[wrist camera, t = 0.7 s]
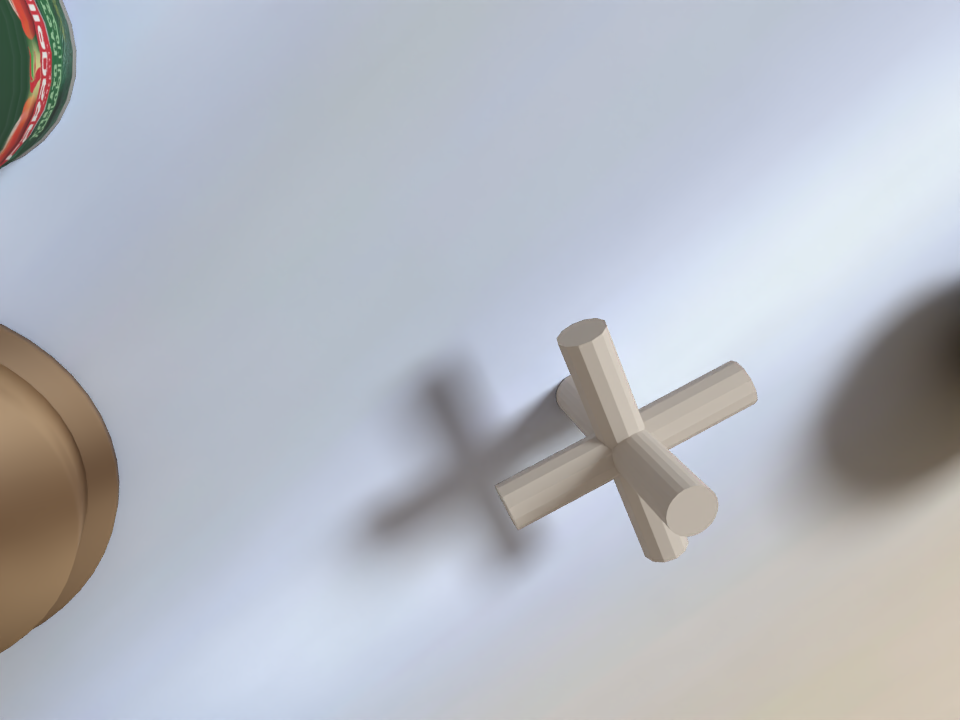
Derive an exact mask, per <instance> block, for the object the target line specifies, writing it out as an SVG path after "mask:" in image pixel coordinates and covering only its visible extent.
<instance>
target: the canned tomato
mask: <svg viewBox="0 0 960 720" xmlns="http://www.w3.org/2000/svg"><path fill="white" fill-rule="evenodd" d="M75 77H76V46H75V41H74V35H73V29H72V24H71V22H70V19H69V16H68V14H67V11H66V8H65V6H64V3H63V0H0V169H1V168H2V167H4V166H6V165H7V164H9V163H10V162H12V161H14V160H16V159H18V158H20V157H23V156H25V155H26V154H27V153H29V152H30V151H31V150H33V149H34V148H35V147H36V146H38V145H39V144H40V143H42V142H43V141H44V140H45V139H46V138H47V136H48V135H49V134H50V133H51V132H52V130H53V129H54V128H55V127H56V125H57V124H58V123H59V122H60V120H61V118H62V115H63V113H64V111H65V109H66V107H67V105H68V103H69V101H70V98H71V94H72V90H73V86H74V82H75Z"/></svg>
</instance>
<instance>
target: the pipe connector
mask: <svg viewBox="0 0 960 720" xmlns="http://www.w3.org/2000/svg"><path fill="white" fill-rule="evenodd" d="M557 342H558V345H559V347H560V350H561V352H562V355H563V357H564V360H565V362H566V365H567V367H568V369H569V372H570V374H571V375H570V376H568V377H567V378H565V379H564V380H563V381H562V382H561V383H560V385H559V387H558V389H557V393H556V399H557V403H558V405H559V406H560V408H561V409H562V410H563V411H564V412H565V413H566V415H567V416H568V417H569V418H570V419H571V420H572V421H573V422H574V423H575V425H576V426H577V427H578V428H579V429H580V430H581V431H582V432H583V433H584V435H585V436H586V437H585V438H584V439H582V440H580V441H578V442H576V443H574V444H572V445H570V446H568V447H567V448H565V449H563V450H561V451H559V452H557V453H555V454H553V455H551V456H550V457H548V458H546V459H544V460H542V461H540V462H538V463H536V464H534V465H533V466H531V467H529V468H527V469H525V470H523V471H521V472H519V473H517V474H515V475H514V476H512V477H510V478H508V479H506V480H504V481H502V482H500V483H498V484H497V485H495V488H496V490H497V492H498V494H499V496H500V498H501V500H502V502H503V504H504V506H505V508H506V510H507V512H508V514H509V516H510V518H511V519H512V521H513V523H514V525H515V527H516V528H517V530H520V529H522V528H523V527H525V526H527V525H529V524H531V523H533V522H535V521H536V520H538V519H540V518H542V517H544V516H546V515H548V514H550V513H551V512H553V511H555V510H557V509H559V508H561V507H563V506H564V505H566V504H568V503H570V502H572V501H574V500H576V499H578V498H579V497H581V496H583V495H585V494H587V493H589V492H591V491H592V490H594V489H596V488H598V487H600V486H602V485H604V484H606V483H607V482H609V481H611V480H613V479H614V481H615V484H616V486H617V489H618V491H619V494H620V496H621V498H622V501H623V503H624V506H625V508H626V511H627V513H628V516H629V518H630V520H631V523H632V525H633V528H634V530H635V533H636V535H637V537H638V540H639V542H640V545H641V547H642V550H643V552H644V555H645V557H647V558H648V559H650V560H651V561H653V562H667V561H670V560H673V559H676V558H678V557H679V556H680V555H681V554H682V553H683V552H685V550H686V548H687V545H688V543H689V542H688V539H687V537H688V536H694V535H696V534H699V533H701V532H702V531H704V530H705V529H706V528H707V527H708V526H709V525H710V524H711V523H712V522H713V520H714V519H715V517H716V514H717V511H718V500H717V497H716V495H715V493H714V492H713V491H712V490H711V489H710V488H709V487H708V486H707V485H705V484H704V483H703V482H702V481H701V480H700V479H699V478H698V477H697V476H696V475H695V474H694V473H693V472H692V471H690V470H689V469H688V468H687V467H686V466H685V465H684V464H683V463H682V462H681V461H680V460H679V459H678V458H677V457H676V456H674V455H673V454H672V453H671V452H670V451H669V449H671V448H673V447H675V446H677V445H678V444H680V443H682V442H684V441H686V440H688V439H690V438H691V437H693V436H695V435H697V434H699V433H701V432H703V431H705V430H706V429H708V428H710V427H712V426H714V425H716V424H718V423H719V422H721V421H723V420H725V419H727V418H729V417H731V416H733V415H734V414H736V413H738V412H740V411H742V410H744V409H746V408H747V407H749V406H751V405H753V404H755V403H756V401H757V393H756V389H755V387H754V385H753V382H752V380H751V378H750V377H749V376H748V374H747V373H746V371H745V370H744V368H742V367H741V366H740V365H739V364H738V363H737V362H735V361H729V362H727V363H725V364H723V365H722V366H720V367H718V368H716V369H714V370H712V371H710V372H708V373H706V374H705V375H703V376H701V377H699V378H697V379H695V380H693V381H691V382H689V383H688V384H686V385H684V386H682V387H680V388H678V389H676V390H674V391H672V392H671V393H669V394H667V395H665V396H663V397H661V398H659V399H657V400H655V401H654V402H652V403H650V404H648V405H646V406H644V407H642V408H640V409H638V407H637V405H636V402H635V399H634V397H633V394H632V391H631V389H630V386H629V383H628V381H627V378H626V376H625V373H624V370H623V368H622V365H621V362H620V360H619V357H618V354H617V352H616V349H615V346H614V344H613V341H612V339H611V336H610V333H609V331H608V328H607V325H606V323H605V320H601V319H598V318H593V319H585V320H582V321H579V322H577V323H574V324H572V325H570V326H569V327H567V328H566V329H564V330H563V331H562V332H561V333H560V335H559V336H558V337H557Z"/></svg>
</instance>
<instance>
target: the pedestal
mask: <svg viewBox="0 0 960 720" xmlns="http://www.w3.org/2000/svg"><path fill="white" fill-rule="evenodd" d="M118 497H119V475H118V466H117V459H116V455H115V451H114V447H113V444H112V440H111V437H110V435H109V432H108V430H107V428H106V425H105V423H104V421H103V419H102V416H101V415H100V413H99V411H98V410H97V408H96V407H95V405H94V403H93V402H92V400H91V398H90V397H89V395H88V394H87V393H86V392H85V390H84V389H83V388H82V387H81V386H80V384H79V383H78V382H77V381H76V379H75V378H74V377H73V376H72V375H71V374H70V373H69V372H68V371H67V370H66V369H65V368H64V367H63V366H62V365H61V364H60V363H58V362H57V361H56V360H55V359H54V358H53V357H52V356H51V355H49V354H48V353H47V352H45V351H44V350H42V349H41V348H40V347H38V346H37V345H36V344H34V343H33V342H32V341H30V340H29V339H27V338H25V337H23V336H22V335H20V334H18V333H16V332H15V331H13V330H11V329H9V328H7V327H6V326H4V325H2V324H0V653H1V652H3V651H4V650H6V649H8V648H9V647H11V646H12V645H13V644H15V643H16V642H17V641H19V640H20V639H21V638H23V637H24V636H25V635H26V634H28V633H29V632H30V631H31V630H32V629H34V628H35V627H37V626H39V625H40V624H42V623H44V622H45V621H46V620H48V619H49V618H50V617H52V616H53V615H54V614H55V613H57V612H58V611H59V610H61V609H62V608H63V607H64V606H65V605H66V604H67V603H68V602H69V601H70V600H71V599H72V598H73V597H74V596H75V595H76V594H77V593H78V592H79V591H80V590H81V588H82V587H83V586H84V585H85V583H86V582H87V581H88V579H89V578H90V577H91V575H92V574H93V573H94V571H95V569H96V567H97V566H98V564H99V562H100V560H101V558H102V557H103V555H104V553H105V550H106V547H107V545H108V542H109V540H110V537H111V534H112V531H113V526H114V521H115V516H116V512H117V507H118Z"/></svg>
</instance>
